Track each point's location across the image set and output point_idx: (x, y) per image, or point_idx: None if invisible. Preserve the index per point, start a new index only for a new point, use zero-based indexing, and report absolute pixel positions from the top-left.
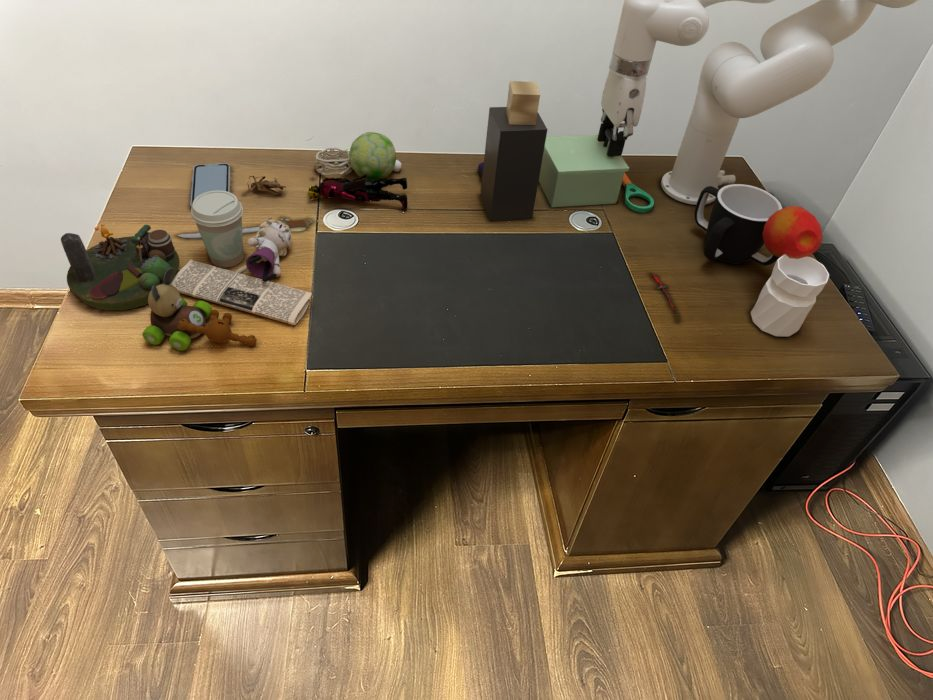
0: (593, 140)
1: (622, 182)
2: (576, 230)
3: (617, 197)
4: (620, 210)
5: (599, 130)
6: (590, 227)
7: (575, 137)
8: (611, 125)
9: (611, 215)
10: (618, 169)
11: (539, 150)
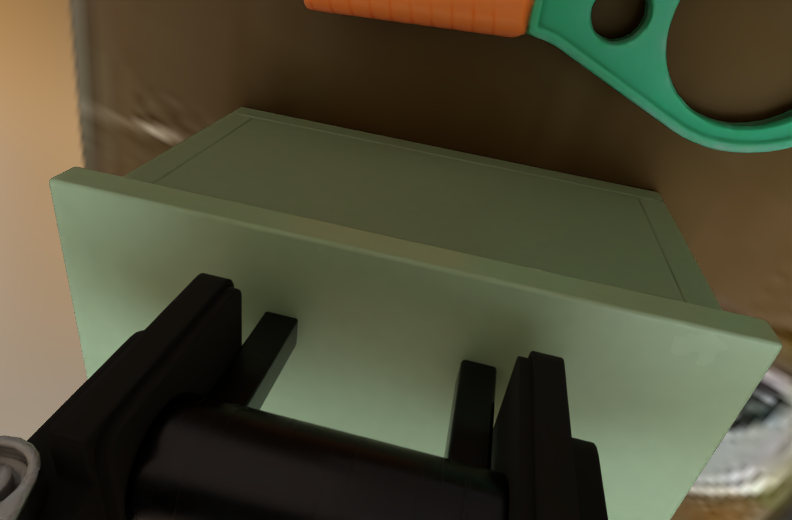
0: None
1: (477, 32)
2: (755, 498)
3: (671, 216)
4: (743, 205)
5: None
6: (778, 439)
7: None
8: (119, 489)
9: (754, 287)
10: (719, 433)
11: None
